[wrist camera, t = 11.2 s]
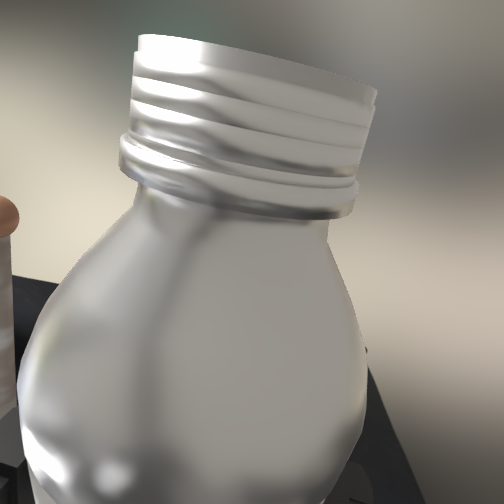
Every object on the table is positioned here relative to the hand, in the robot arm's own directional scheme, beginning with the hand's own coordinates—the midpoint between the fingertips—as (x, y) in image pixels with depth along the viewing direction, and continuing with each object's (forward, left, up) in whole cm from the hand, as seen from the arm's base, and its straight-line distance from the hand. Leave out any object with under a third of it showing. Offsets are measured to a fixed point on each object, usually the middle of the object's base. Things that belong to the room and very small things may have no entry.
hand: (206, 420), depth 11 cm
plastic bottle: (-2, -1, -11) cm, 11 cm away
